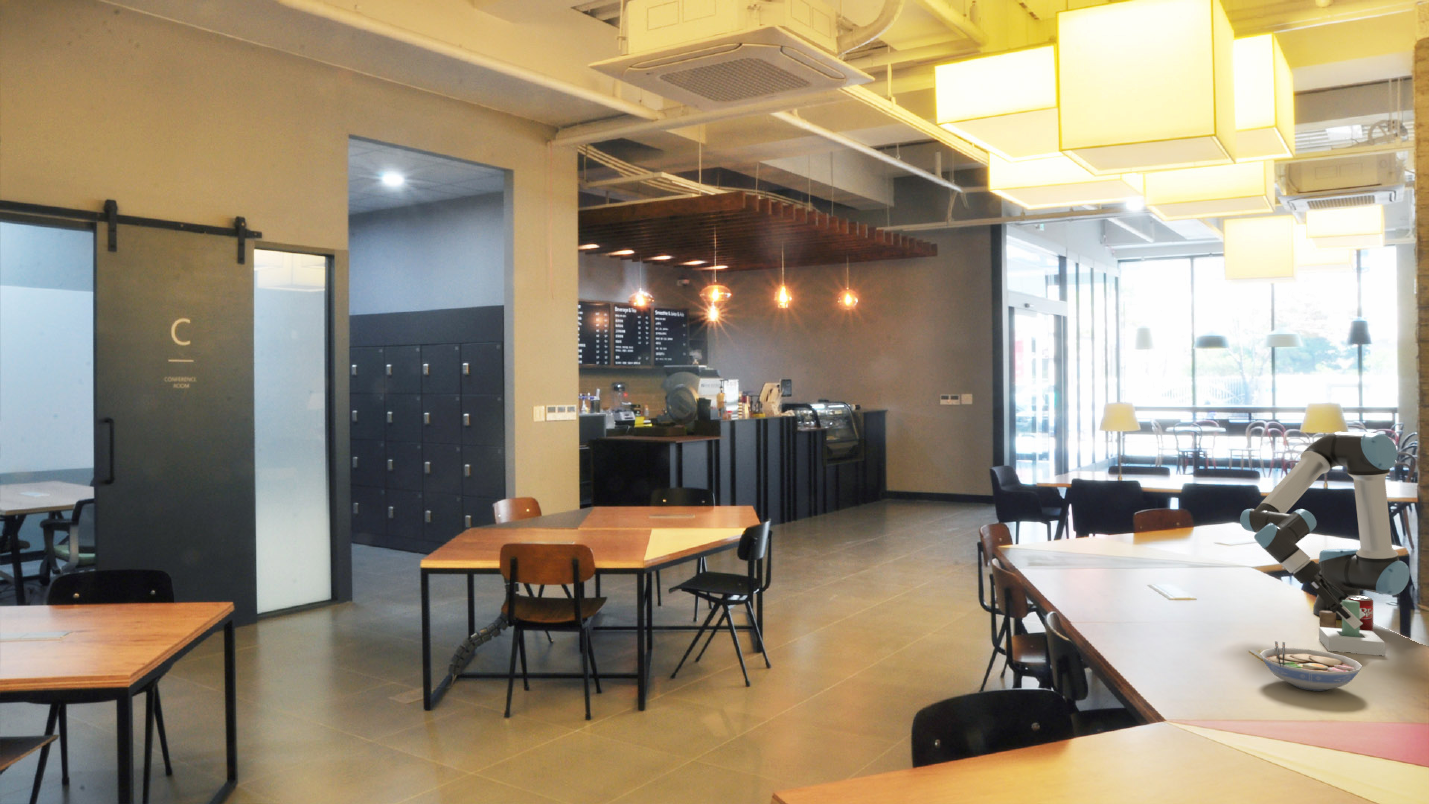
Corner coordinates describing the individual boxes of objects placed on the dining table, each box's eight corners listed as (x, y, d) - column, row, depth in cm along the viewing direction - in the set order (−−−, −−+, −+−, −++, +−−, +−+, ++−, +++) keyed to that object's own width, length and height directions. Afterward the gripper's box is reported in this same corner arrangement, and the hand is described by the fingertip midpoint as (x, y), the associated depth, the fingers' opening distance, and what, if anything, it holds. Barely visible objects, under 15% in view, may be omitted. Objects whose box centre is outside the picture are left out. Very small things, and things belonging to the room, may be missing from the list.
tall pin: (1340, 644, 284) (1340, 599, 284) (1357, 646, 282) (1357, 600, 282) (1343, 648, 280) (1343, 602, 280) (1361, 650, 278) (1361, 603, 278)
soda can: (1377, 638, 291) (1377, 600, 291) (1352, 637, 293) (1352, 599, 292) (1366, 632, 298) (1366, 595, 298) (1341, 631, 300) (1341, 594, 300)
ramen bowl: (1365, 708, 228) (1365, 675, 228) (1258, 693, 240) (1258, 661, 240) (1359, 681, 249) (1359, 650, 249) (1261, 668, 261) (1260, 639, 261)
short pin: (1318, 631, 300) (1318, 610, 300) (1334, 632, 298) (1334, 611, 298) (1321, 635, 296) (1321, 613, 296) (1337, 636, 294) (1337, 614, 294)
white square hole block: (1319, 639, 290) (1319, 626, 290) (1372, 643, 285) (1372, 631, 285) (1328, 651, 277) (1328, 637, 277) (1384, 655, 272) (1384, 642, 272)
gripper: (1296, 568, 300) (1352, 621, 291) (1286, 581, 281) (1346, 638, 272) (1315, 553, 297) (1373, 606, 288) (1307, 565, 277) (1368, 622, 268)
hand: (1360, 622), depth 280 cm, fingers open, 13 cm apart
